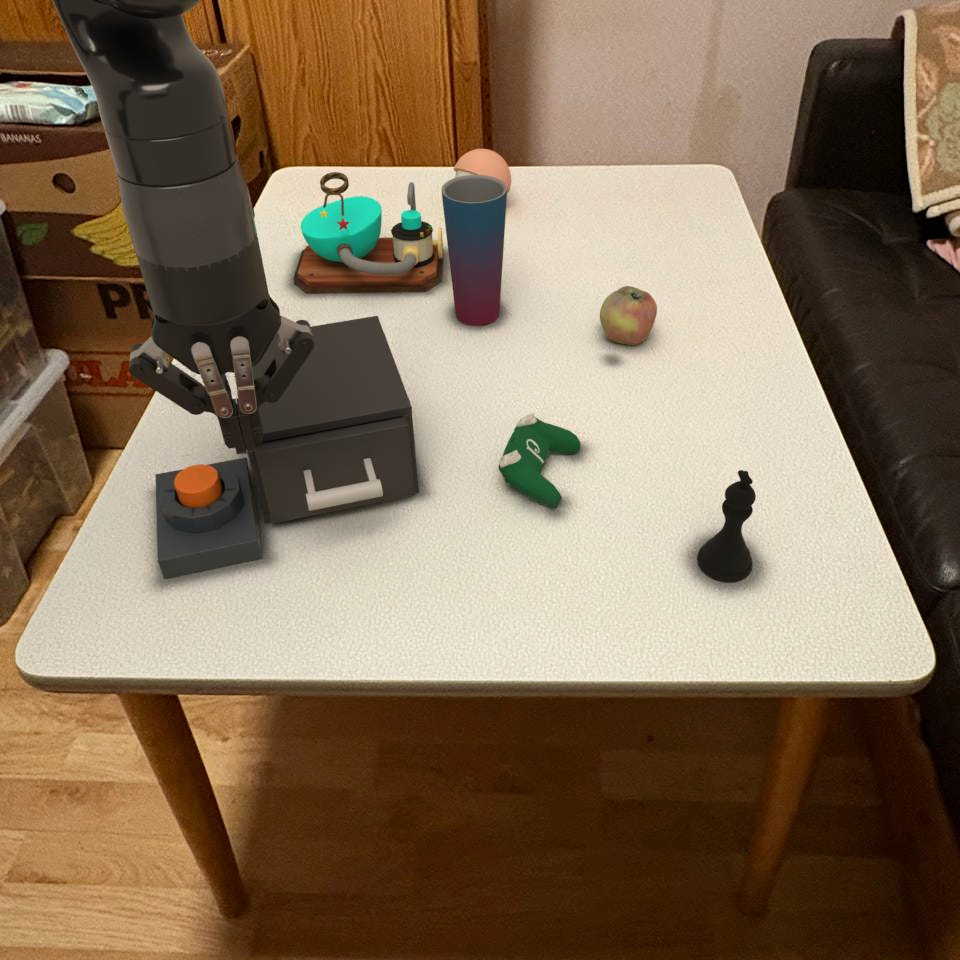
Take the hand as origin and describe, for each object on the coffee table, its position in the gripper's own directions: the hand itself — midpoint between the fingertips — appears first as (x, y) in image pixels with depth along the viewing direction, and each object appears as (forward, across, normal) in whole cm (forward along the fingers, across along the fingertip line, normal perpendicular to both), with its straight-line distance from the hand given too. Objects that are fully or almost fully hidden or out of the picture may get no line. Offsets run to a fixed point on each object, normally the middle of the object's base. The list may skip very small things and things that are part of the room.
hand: (246, 446), depth 68 cm
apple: (+12, +40, +22) cm, 47 cm away
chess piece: (+12, +36, -11) cm, 39 cm away
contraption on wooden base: (+12, +16, +45) cm, 49 cm away
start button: (+8, -5, +5) cm, 11 cm away
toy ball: (+12, +33, +58) cm, 68 cm away
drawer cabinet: (+12, +6, +12) cm, 18 cm away
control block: (+12, -5, +5) cm, 14 cm away
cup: (+12, +26, +32) cm, 43 cm away
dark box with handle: (+11, +6, +8) cm, 15 cm away
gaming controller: (+12, +24, +4) cm, 28 cm away
